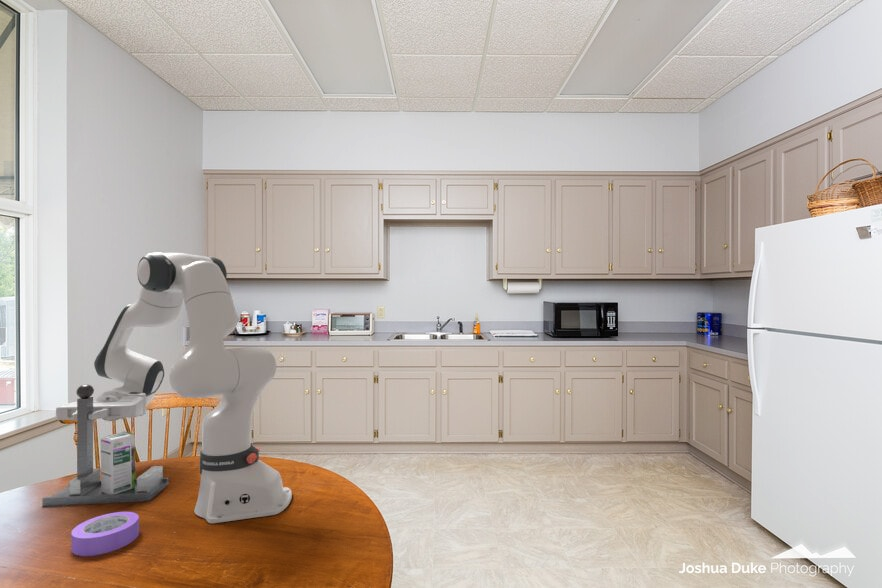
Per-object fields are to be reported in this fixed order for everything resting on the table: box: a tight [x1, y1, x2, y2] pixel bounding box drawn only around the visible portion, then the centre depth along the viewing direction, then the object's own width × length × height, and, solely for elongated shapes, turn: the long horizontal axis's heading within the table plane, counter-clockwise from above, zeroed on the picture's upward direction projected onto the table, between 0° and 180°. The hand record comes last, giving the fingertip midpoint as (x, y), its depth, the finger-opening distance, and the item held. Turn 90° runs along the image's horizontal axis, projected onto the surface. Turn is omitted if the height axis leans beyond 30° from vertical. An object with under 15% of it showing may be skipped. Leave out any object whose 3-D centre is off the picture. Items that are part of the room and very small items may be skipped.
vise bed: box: [41, 465, 169, 507], centre depth 120 cm, size 25×10×6 cm, turn 97°
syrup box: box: [100, 431, 136, 494], centre depth 121 cm, size 6×6×14 cm
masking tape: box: [70, 511, 140, 557], centre depth 98 cm, size 12×12×4 cm
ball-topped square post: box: [68, 383, 101, 496], centre depth 120 cm, size 4×8×28 cm, turn 7°
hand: (82, 417), depth 119 cm, fingers closed on ball-topped square post, 2 cm apart
